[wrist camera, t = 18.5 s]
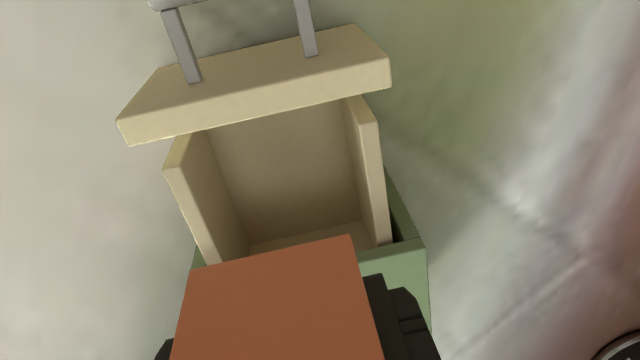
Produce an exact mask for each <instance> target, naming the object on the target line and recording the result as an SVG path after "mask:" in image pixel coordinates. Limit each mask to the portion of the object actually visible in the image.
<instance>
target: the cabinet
mask: <svg viewBox="0 0 640 360" xmlns="http://www.w3.org/2000/svg"><path fill="white" fill-rule="evenodd" d="M383 168H384V175H385V183H386V191H387V199H388V207H389V215H390V223H391V231H392V239H393V244H390V245H385V246H381V247H376V248H372V249H367V250H363V251H358V252H355V254H356V258H357V261H358V265H359V268H360V272H361V276H362V277H364V276H369V275H373V274H378V273H382V274H383V277H384V280H385V283H386V286H387V288H388V290H390V289H395V288H399V287H403V286H404V287H405V288H406V289H407V290H408V291H409V292H410V293H411V294H412V295H413V296H414V297H415V298H416V299H417V302H418V304H419V307H420V309H421V312H422V314H423V317H424V319H425V321H426V324H427V326H428V330H429V331H430V334H431V336H432V328H431V313H430V299H429V284H428V270H427V255H426V247H425V245H424V243H423V241H422V239H421V237H420V235H419V233H418V231H417V229H416V227H415V225H414V223H413V221H412V219H411V217H410V215H409V213H408V211H407V209H406V207H405V205H404V203H403V201H402V199H401V197H400V195H399V193H398V191H397V190H396V188H395V186H394V184H393V182H392V180H391V178H390V176H389V174H388V172H387V170H386V168H385V166H384V164H383ZM204 266H207V264H206V262H205V260H204V258H203V256H202V254H201V252H200V250H199V248H198V245H197V246H196V250H195V254H194V259H193V263H192V267H191V269H196V268H200V267H204Z"/></svg>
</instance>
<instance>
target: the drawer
mask: <svg viewBox="0 0 640 360" xmlns="http://www.w3.org/2000/svg"><path fill="white" fill-rule="evenodd" d="M202 1H207V0H147V2H148V4H149V5H150V7H151V8H152V9H153V10H154V11H156V12H159V11H161V12H160V14H161V17H162V19H163V22H164V24H165V27H166V30H167V32H168V35H169V37H170V40H171V43H172V45H173V48H174V50H175V53H176V56H177V58H178V61H179V63H178V64H173V65H169V66H165V67H160V68H158V69H157V70H156V71H155V72H154V73H153V75H152V76H151V77H150V78H149V79H148V81H147V82H146V83H145V84H144V85H143V87H142V88H141V89H140V90H139V91H138V93H137V94H136V95H135V96H134V97H133V98H132V100H131V101H130V102H129V103H128V104H127V106H126V107H125V108H124V109H123V110H122V112H121V113H120V114H119V115H118V116H117V118H116V119H115V121H116V123H117V125H118V127H119V129H120V131H121V133H122V135H123V137H124V139H125V141H126V143H127V145H128V146H134V145H138V144H143V143H147V142H152V141H156V140H160V139H165V138H169V137H174V136H177V137H176V139H175V141H174V144H173V146H172V148H171V150H170V152H169V155H168V157H167V159H166V161H165V163H164V165H163V168H162V172H163V174H164V176H165V178H166V180H167V182H168V185H169V187H170V189H171V191H172V193H173V195H174V197H175V199H176V201H177V203H178V206H179V208H180V210H181V212H182V214H183V216H184V218H185V220H186V222H187V224H188V227H189V229H190V231H191V233H192V235H193V237H194V239H195V241H196V243H197V245H198V248H199V250H200V252H201V254H202V256H203V258H204V260H205V262H206V264H207V266H209V265H213V264H217V263H222V262H226V261H231V260H235V259H239V258H244V257H248V256H253V255H257V254H261V253H266V252H270V251H275V250H279V249H283V248H288V247H292V246H296V245H301V244H305V243H310V242H314V241H318V240H323V239H327V238H332V237H336V236H340V235H345V234H350V236H351V240H352V243H353V247H354V250H355V252H358V251H363V250H367V249H372V248H376V247H381V246H385V245H390V244H393V239H392V231H391V223H390V215H389V207H388V199H387V191H386V183H385V175H384V168H383V160H382V152H381V144H380V136H379V128H378V121H377V120H376V118H375V116H374V115H373V113H372V111H371V109H370V108H369V106H368V104H367V103H366V101H365V99H364V98H363V96H362V94H363V93H367V92H372V91H376V90H381V89H385V88H389V87H392V77H391V67H390V58H389V56H388V55H387V54H386V53H385V52H384V51H383V50H382V49H381V48H380V47H379V46H378V45H377V44H376V43H375V42H374V41H373V40H372V39H371V38H370V37H369V36H368V35H367V34H366V33H365V32H364V31H363V30H362V29H361V28H360V27H359V26H358V25H357V24H356V23H353V24H348V25H344V26H340V27H335V28H331V29H327V30H322V31H318V32H315V31H314V26H313V21H312V16H311V11H310V5H309V0H292V1H293V5H294V10H295V15H296V20H297V24H298V29H299V34H300V36H296V37H292V38H287V39H283V40H278V41H274V42H270V43H265V44H261V45H257V46H252V47H248V48H243V49H239V50H235V51H230V52H226V53H222V54H217V55H213V56H208V57H204V58H200V59H196V57H195V54H194V51H193V49H192V46H191V43H190V40H189V37H188V35H187V32H186V29H185V26H184V23H183V21H182V18H181V15H180V12H179V10H178V8H177V7H180V6H185V5H189V4H194V3H198V2H202Z"/></svg>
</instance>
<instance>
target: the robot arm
mask: <svg viewBox="0 0 640 360" xmlns="http://www.w3.org/2000/svg"><path fill="white" fill-rule="evenodd" d="M362 279H363V283H364V286H365V290H366V294H367V297H368V301H369V304H370V308H371V312H372V315H373V319H374V322H375V326H376V330H377V333H378V337H379V340H380V344H381V347H382V351H383V355H384V358H385V360H441V358H440V355H439V353H438V351H437V348H436V346H435V343H434V341H433V338H432V336H431V334H430V331H429V330H428V326H427V324H426V321H425V319H424V317H423V314H422V312H421V309H420V307H419V304H418V302H417V299H416V298H415V297H414V296H413V295H412V294H411V293H410V292H409V291H408V290H407V289H406V288H405V287H404V286H403V287H399V288H395V289H390V290H388V288H387V286H386V283H385V280H384V277H383V274H382V273H378V274H373V275H369V276H364V277H362ZM173 341H174V338H172V339H167V340H166V341H165V342H164V344H163V346H162V347H161V349H160V350H159V352H158V353H157V355H156V357H155V360H169V358H170V354H171V350H172V345H173ZM594 360H640V331H638V332H635V333H632V334H630V335H627V336H625V337H623V338H621V339H619V340H617V341H615V342H614V343H612V344H611V345H609V346H608V347H606V348H605V349H604V350H603V351H601V352H600V353H599V354H598V355H597V356H596V358H595V359H594Z"/></svg>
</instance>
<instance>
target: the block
mask: <svg viewBox="0 0 640 360" xmlns="http://www.w3.org/2000/svg"><path fill="white" fill-rule="evenodd" d="M169 360H385V358H384V355H383V351H382V347H381V344H380V340H379V337H378V333H377V330H376V326H375V322H374V319H373V315H372V312H371V308H370V304H369V301H368V297H367V294H366V290H365V286H364V283H363V279H362V276H361V272H360V268H359V265H358V261H357V258H356V254H355V250H354V247H353V243H352V240H351V236H350V234H345V235H340V236H336V237H332V238H327V239H323V240H318V241H314V242H310V243H305V244H301V245H296V246H292V247H288V248H283V249H279V250H275V251H270V252H266V253H261V254H257V255H253V256H248V257H244V258H239V259H235V260H231V261H226V262H222V263H217V264H213V265H209V266H204V267H200V268H196V269H191V270H190V272H189V277H188V281H187V285H186V289H185V294H184V298H183V302H182V307H181V311H180V315H179V320H178V324H177V328H176V332H175V337H174V341H173V345H172V350H171V354H170V358H169Z"/></svg>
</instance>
